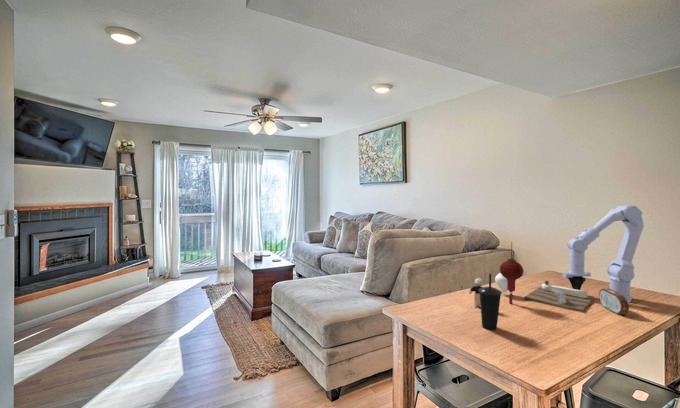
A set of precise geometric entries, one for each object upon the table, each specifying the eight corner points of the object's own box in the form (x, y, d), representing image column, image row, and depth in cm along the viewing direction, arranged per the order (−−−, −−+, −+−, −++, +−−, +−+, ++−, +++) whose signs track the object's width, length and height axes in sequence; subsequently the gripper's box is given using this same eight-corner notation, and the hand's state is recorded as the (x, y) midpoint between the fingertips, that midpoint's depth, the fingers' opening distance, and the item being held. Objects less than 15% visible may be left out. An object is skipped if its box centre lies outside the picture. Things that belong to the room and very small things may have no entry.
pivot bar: (540, 289, 156) (540, 284, 156) (543, 288, 159) (543, 283, 159) (585, 298, 143) (585, 293, 143) (587, 296, 146) (587, 291, 146)
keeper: (551, 296, 146) (551, 288, 146) (557, 297, 145) (557, 288, 145) (559, 304, 136) (559, 294, 136) (565, 304, 136) (565, 295, 136)
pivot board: (540, 288, 163) (540, 277, 163) (594, 298, 147) (594, 286, 147) (524, 299, 146) (524, 287, 146) (582, 312, 130) (583, 298, 129)
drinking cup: (500, 333, 109) (500, 277, 109) (476, 328, 113) (477, 274, 113) (502, 326, 116) (502, 272, 115) (479, 321, 120) (480, 270, 119)
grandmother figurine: (487, 306, 136) (487, 277, 136) (488, 309, 133) (489, 280, 132) (468, 304, 139) (468, 276, 138) (469, 307, 135) (469, 278, 135)
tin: (629, 317, 124) (630, 296, 124) (620, 317, 125) (620, 296, 124) (605, 304, 139) (605, 286, 138) (597, 304, 139) (597, 285, 139)
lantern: (514, 300, 145) (516, 235, 144) (527, 307, 135) (529, 238, 134) (494, 300, 144) (495, 235, 144) (506, 307, 135) (507, 238, 134)
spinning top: (496, 291, 158) (496, 267, 157) (513, 294, 153) (514, 269, 153) (493, 295, 152) (494, 270, 151) (511, 298, 147) (511, 273, 147)
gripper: (581, 261, 156) (580, 288, 156) (557, 262, 153) (556, 290, 153) (595, 264, 149) (594, 292, 150) (570, 266, 146) (569, 294, 146)
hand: (576, 291), depth 151 cm, fingers closed
